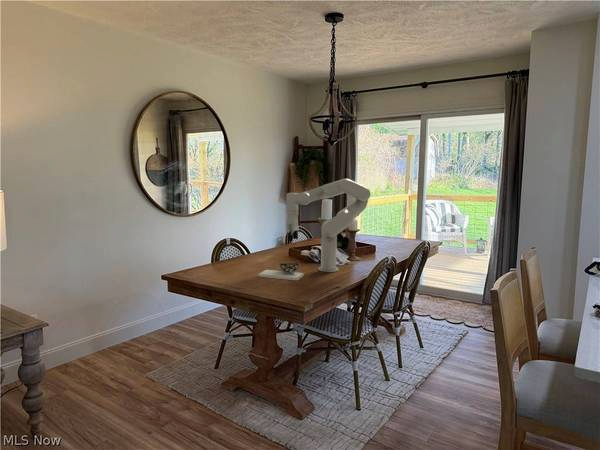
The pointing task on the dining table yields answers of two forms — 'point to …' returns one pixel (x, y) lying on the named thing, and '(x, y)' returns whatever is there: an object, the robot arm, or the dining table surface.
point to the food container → (289, 267)
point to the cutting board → (280, 275)
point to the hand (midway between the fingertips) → (292, 240)
